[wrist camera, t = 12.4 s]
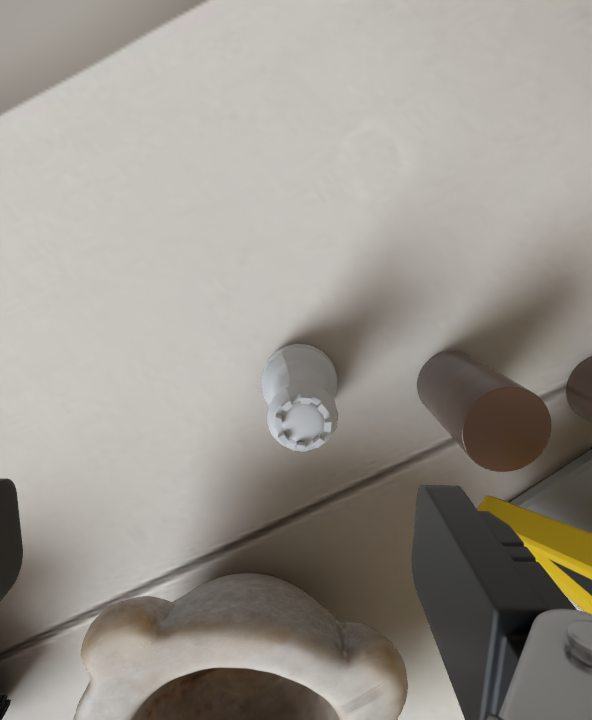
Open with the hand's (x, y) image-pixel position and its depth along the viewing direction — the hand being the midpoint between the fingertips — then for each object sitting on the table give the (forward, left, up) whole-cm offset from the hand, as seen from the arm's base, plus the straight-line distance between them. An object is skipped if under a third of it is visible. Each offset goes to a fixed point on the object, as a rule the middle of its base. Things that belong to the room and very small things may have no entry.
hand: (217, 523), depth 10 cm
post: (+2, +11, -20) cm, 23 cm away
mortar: (+20, -1, -20) cm, 29 cm away
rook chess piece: (+2, +2, -20) cm, 20 cm away
